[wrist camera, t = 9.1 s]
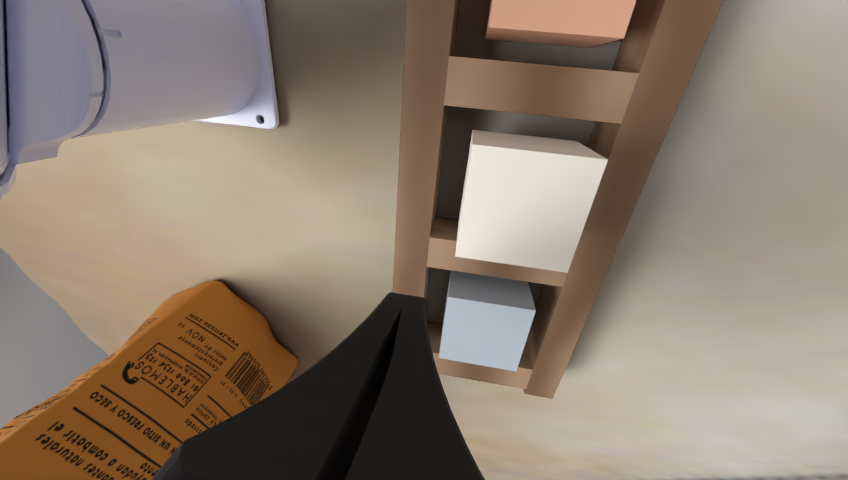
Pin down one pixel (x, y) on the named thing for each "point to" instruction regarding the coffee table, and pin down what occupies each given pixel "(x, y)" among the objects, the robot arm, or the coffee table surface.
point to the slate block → (486, 320)
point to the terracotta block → (559, 21)
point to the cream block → (526, 199)
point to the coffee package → (151, 392)
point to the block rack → (548, 96)
